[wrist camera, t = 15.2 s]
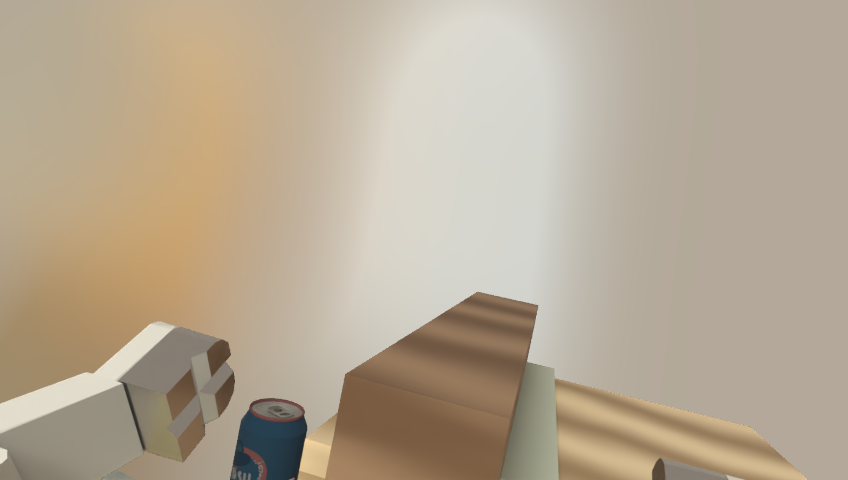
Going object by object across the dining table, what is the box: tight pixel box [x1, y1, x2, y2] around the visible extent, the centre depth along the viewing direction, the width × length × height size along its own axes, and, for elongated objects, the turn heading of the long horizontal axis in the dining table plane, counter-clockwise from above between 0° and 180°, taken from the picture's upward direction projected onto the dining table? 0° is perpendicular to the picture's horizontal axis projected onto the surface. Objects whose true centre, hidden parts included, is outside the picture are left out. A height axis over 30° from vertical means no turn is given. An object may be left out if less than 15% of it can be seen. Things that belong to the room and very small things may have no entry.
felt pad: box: [331, 362, 559, 480], centre depth 29 cm, size 19×8×1 cm, turn 167°
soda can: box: [230, 398, 307, 480], centre depth 60 cm, size 7×7×12 cm
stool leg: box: [325, 292, 538, 480], centre depth 26 cm, size 26×4×4 cm, turn 167°
